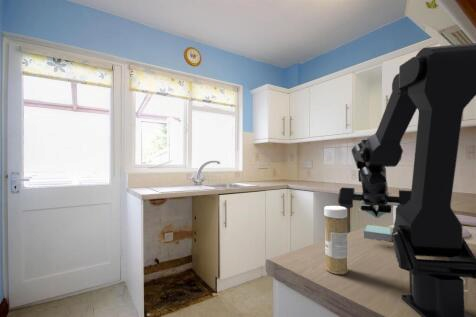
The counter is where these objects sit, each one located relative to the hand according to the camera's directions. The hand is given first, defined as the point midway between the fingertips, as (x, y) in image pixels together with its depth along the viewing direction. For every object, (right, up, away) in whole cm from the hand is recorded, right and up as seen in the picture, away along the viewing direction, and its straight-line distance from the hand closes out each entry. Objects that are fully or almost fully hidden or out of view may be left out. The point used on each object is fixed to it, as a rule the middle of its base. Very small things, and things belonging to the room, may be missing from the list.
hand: (377, 216), depth 70 cm
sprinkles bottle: (-21, -7, -20) cm, 30 cm away
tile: (-1, -6, -1) cm, 6 cm away
